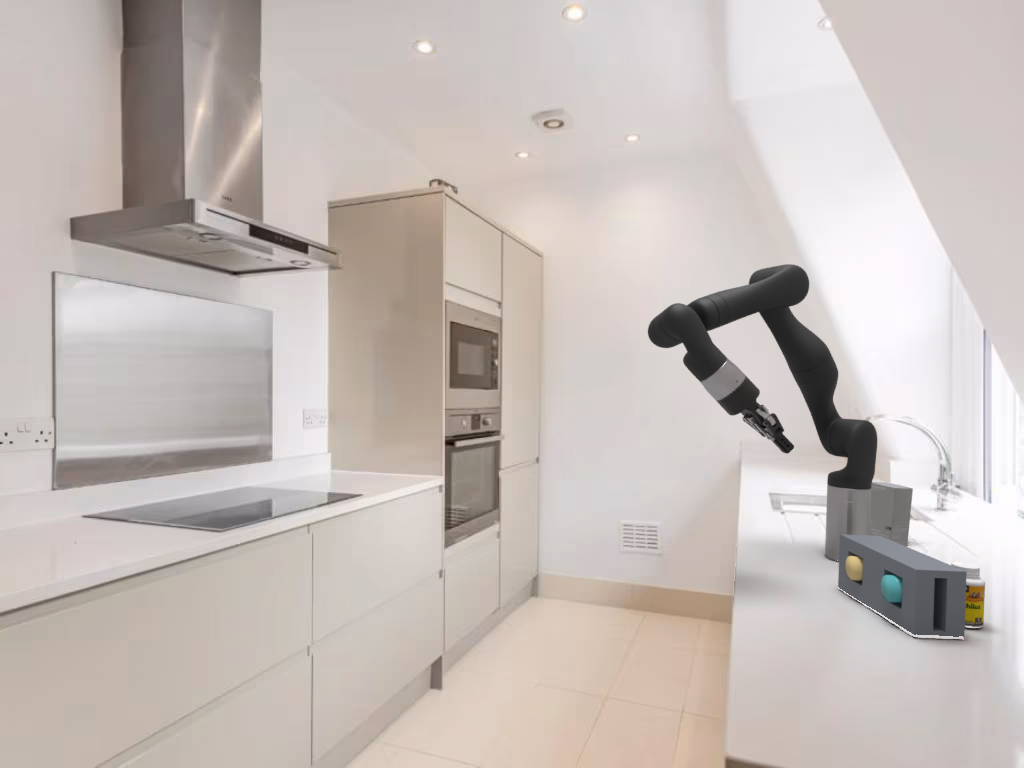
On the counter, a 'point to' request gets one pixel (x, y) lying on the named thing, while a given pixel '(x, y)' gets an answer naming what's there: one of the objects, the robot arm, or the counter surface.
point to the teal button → (892, 588)
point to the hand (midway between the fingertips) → (789, 450)
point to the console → (906, 585)
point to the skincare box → (891, 511)
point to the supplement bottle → (973, 594)
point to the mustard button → (854, 567)
